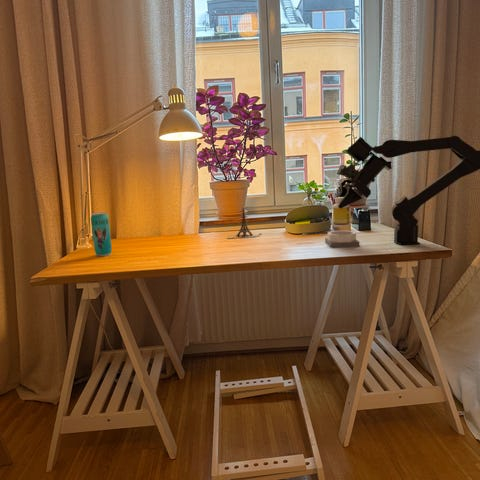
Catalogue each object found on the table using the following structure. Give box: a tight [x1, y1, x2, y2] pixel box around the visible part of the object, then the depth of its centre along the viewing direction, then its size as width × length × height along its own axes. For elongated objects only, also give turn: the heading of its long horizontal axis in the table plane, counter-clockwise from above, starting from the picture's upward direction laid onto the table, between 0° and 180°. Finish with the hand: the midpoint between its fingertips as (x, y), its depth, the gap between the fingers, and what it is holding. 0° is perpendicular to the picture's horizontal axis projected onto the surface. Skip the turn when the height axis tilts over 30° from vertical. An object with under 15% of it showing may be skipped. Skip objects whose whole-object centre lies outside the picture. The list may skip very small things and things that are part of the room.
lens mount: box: [324, 230, 360, 248], centre depth 137 cm, size 10×10×4 cm
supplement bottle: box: [332, 196, 350, 228], centre depth 134 cm, size 5×5×10 cm
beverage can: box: [90, 211, 113, 257], centre depth 139 cm, size 6×6×15 cm
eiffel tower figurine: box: [226, 207, 263, 240], centre depth 163 cm, size 15×10×13 cm
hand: (336, 206), depth 134 cm, fingers closed on supplement bottle, 5 cm apart
